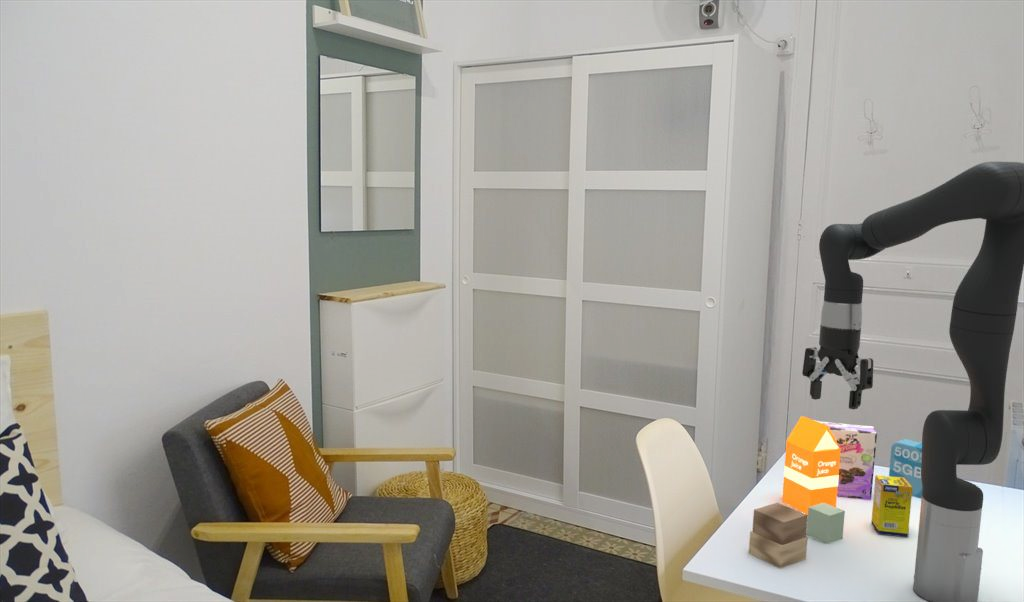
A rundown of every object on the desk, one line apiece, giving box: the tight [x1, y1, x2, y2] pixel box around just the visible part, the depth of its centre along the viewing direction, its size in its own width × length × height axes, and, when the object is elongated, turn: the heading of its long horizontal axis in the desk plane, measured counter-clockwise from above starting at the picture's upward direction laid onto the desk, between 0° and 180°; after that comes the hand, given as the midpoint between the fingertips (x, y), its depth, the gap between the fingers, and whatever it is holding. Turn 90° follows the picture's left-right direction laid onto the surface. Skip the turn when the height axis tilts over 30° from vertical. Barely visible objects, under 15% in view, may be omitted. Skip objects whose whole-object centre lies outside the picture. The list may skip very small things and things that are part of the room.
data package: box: [888, 438, 922, 499], centre depth 187 cm, size 12×4×12 cm, turn 40°
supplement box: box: [871, 474, 913, 538], centre depth 165 cm, size 6×6×11 cm
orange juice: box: [781, 415, 841, 515], centre depth 177 cm, size 8×9×20 cm
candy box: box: [813, 419, 878, 501], centre depth 186 cm, size 14×6×16 cm, turn 73°
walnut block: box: [752, 502, 808, 545], centre depth 152 cm, size 7×7×4 cm
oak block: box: [748, 530, 808, 569], centre depth 152 cm, size 8×8×4 cm
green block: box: [806, 503, 846, 545], centre depth 162 cm, size 5×5×6 cm
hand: (834, 403), depth 159 cm, fingers open, 8 cm apart
